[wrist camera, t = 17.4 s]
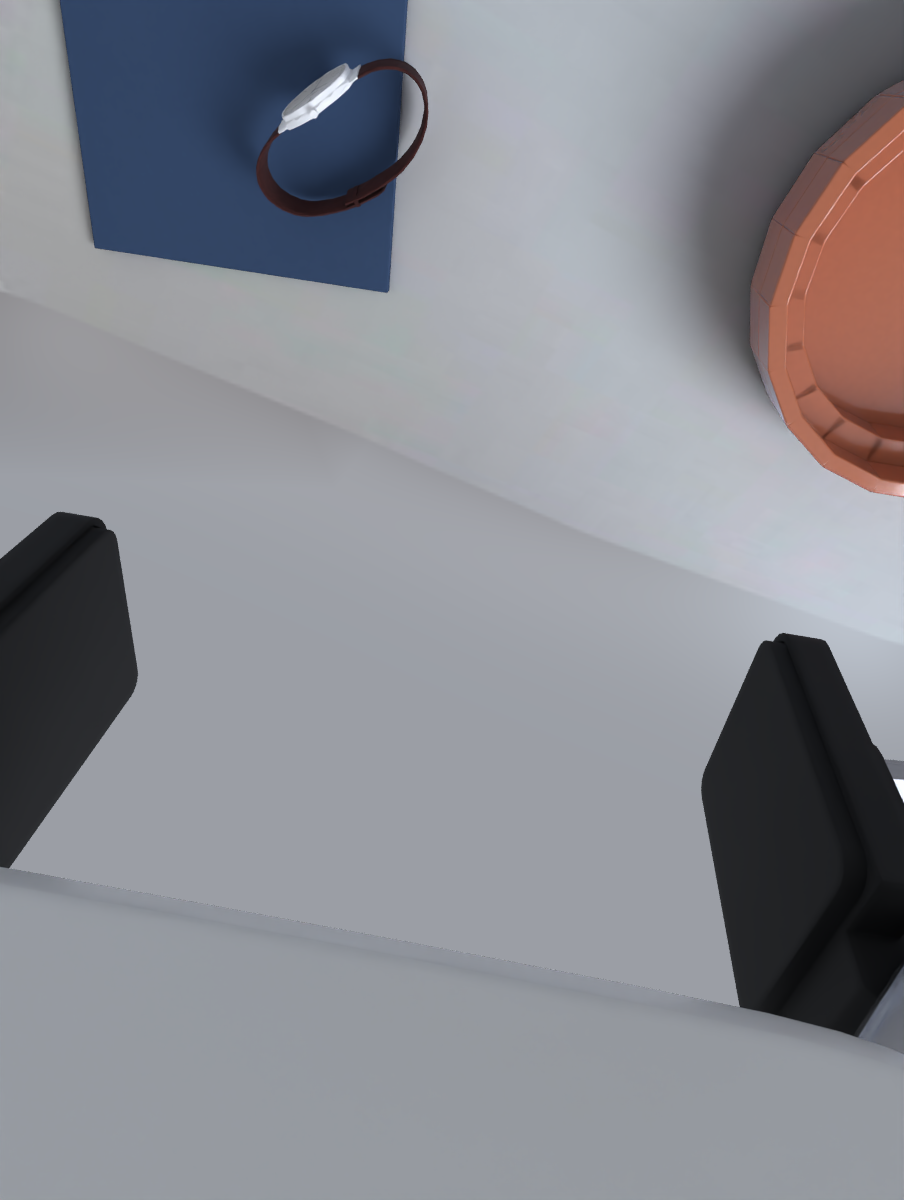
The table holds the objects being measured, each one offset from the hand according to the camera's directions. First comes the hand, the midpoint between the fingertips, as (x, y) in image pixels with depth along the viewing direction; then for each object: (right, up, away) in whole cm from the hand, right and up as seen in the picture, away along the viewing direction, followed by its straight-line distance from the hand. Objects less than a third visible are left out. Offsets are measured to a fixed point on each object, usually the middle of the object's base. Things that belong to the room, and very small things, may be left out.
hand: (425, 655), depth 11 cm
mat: (-8, +24, +20) cm, 32 cm away
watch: (-4, +20, +21) cm, 29 cm away
